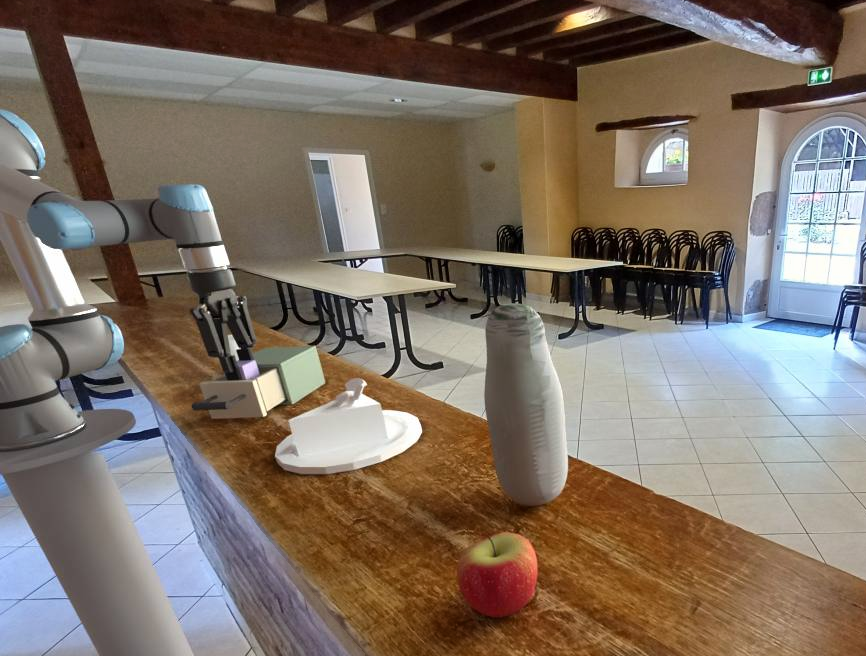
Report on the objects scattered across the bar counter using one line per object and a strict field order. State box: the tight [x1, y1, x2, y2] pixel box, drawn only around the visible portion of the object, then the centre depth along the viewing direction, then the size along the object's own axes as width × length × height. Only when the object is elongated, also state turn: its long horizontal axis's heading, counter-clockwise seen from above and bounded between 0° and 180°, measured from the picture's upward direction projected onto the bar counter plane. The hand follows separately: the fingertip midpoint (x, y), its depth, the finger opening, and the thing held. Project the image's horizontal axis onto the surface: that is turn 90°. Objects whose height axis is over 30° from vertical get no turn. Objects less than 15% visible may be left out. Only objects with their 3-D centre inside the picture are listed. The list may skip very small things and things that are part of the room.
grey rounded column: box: [483, 303, 569, 507], centre depth 74 cm, size 10×10×28 cm
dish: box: [274, 377, 423, 475], centre depth 100 cm, size 25×25×11 cm
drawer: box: [191, 367, 287, 420], centre depth 117 cm, size 20×11×8 cm, turn 177°
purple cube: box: [223, 360, 260, 381], centre depth 116 cm, size 4×4×4 cm
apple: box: [456, 532, 539, 618], centre depth 58 cm, size 8×8×10 cm
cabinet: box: [237, 345, 326, 406], centre depth 128 cm, size 15×13×10 cm
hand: (244, 381), depth 117 cm, fingers closed on purple cube, 4 cm apart
